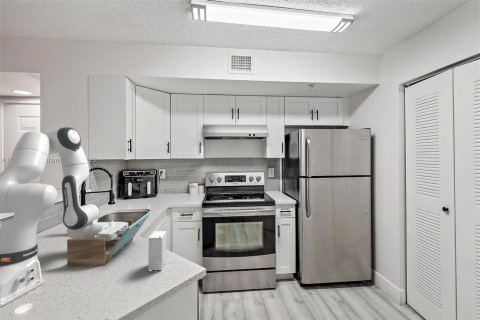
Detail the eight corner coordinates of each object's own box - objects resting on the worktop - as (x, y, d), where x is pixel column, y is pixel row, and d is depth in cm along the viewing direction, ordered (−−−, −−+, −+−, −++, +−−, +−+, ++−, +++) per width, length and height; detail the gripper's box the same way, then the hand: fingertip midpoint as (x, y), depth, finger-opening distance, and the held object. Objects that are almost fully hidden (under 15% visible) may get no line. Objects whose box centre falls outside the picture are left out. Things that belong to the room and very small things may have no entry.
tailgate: (111, 258, 104) (131, 229, 105) (107, 255, 104) (127, 227, 104) (135, 237, 132) (151, 214, 133) (132, 235, 132) (148, 212, 132)
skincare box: (153, 263, 103) (153, 231, 103) (166, 262, 104) (166, 230, 104) (147, 272, 95) (147, 237, 95) (162, 271, 96) (162, 236, 96)
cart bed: (104, 265, 102) (104, 238, 102) (67, 266, 101) (67, 240, 101) (133, 239, 134) (132, 219, 134) (105, 240, 133) (105, 220, 133)
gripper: (91, 231, 107) (121, 231, 108) (112, 219, 127) (137, 219, 128) (90, 244, 107) (120, 244, 108) (111, 230, 127) (137, 230, 128)
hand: (129, 230), depth 118 cm, fingers closed, pressing on tailgate
